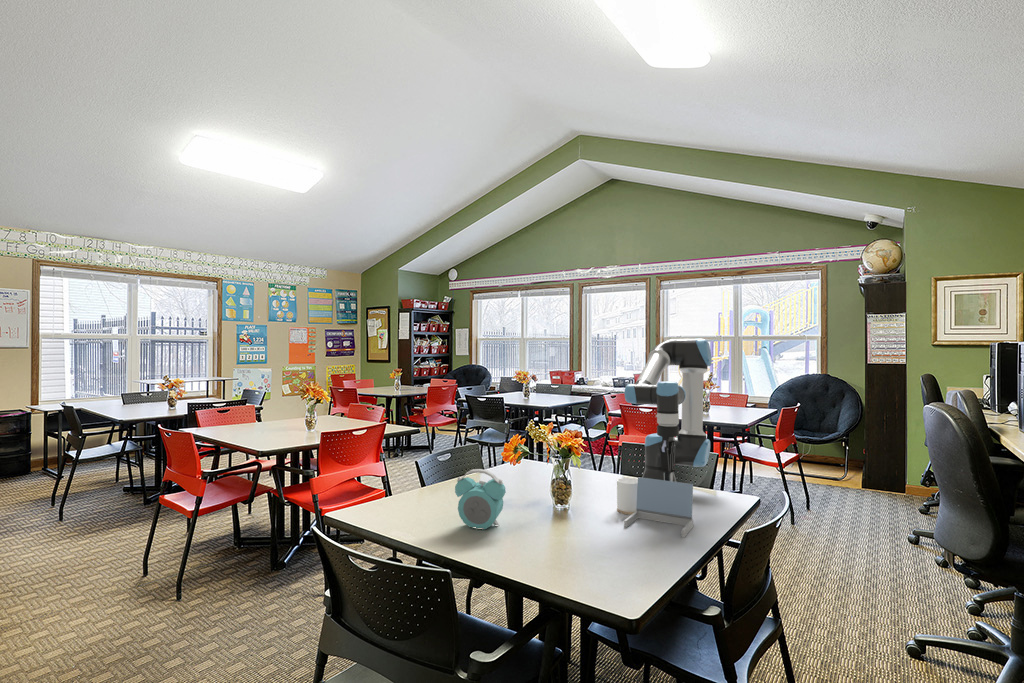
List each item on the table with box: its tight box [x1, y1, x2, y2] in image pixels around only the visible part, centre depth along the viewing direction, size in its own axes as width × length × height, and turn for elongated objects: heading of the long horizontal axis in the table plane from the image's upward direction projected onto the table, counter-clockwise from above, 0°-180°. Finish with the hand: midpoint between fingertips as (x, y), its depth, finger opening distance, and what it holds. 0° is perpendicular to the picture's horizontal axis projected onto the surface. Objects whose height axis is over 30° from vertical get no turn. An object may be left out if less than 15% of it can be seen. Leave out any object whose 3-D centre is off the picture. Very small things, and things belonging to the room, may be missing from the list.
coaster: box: [616, 507, 634, 516], centre depth 204 cm, size 11×11×1 cm
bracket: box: [623, 511, 694, 538], centre depth 186 cm, size 13×20×2 cm, turn 59°
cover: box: [636, 476, 694, 520], centre depth 192 cm, size 12×19×1 cm
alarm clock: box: [454, 468, 507, 530], centre depth 187 cm, size 17×10×20 cm, turn 74°
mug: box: [616, 477, 638, 512], centre depth 204 cm, size 9×12×11 cm
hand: (668, 490), depth 196 cm, fingers closed
